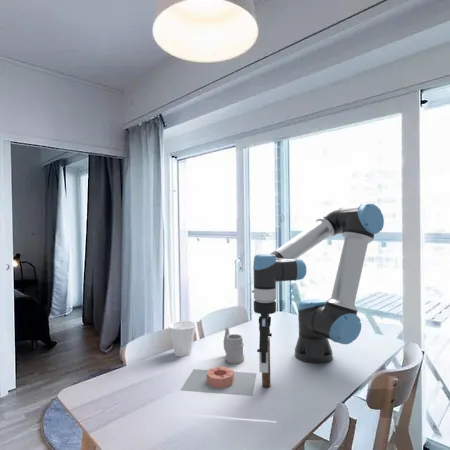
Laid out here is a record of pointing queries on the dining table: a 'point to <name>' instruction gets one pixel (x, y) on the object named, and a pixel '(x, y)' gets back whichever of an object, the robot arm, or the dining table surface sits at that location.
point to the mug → (233, 347)
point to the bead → (220, 377)
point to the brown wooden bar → (267, 375)
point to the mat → (240, 386)
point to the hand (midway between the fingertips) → (265, 363)
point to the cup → (182, 337)
